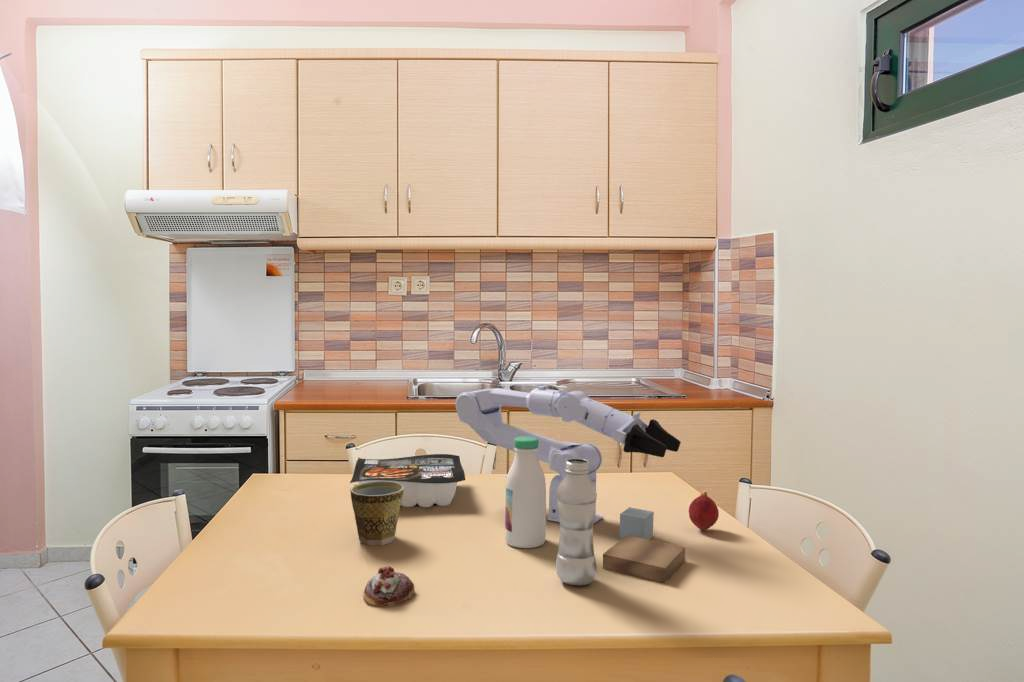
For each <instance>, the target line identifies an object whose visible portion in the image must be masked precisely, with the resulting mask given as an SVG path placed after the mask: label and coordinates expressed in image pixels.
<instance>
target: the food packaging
mask: <svg viewBox="0 0 1024 682" xmlns="http://www.w3.org/2000/svg"><path fill="white" fill-rule="evenodd" d="M354 465H355V467H354V471H353V475H352V478H351V480H350V482H349V484H352V483H357V482H358V484H361V483H366V482H373V481H389V482H396V483H399V484H401V485H403V487H404V490H403V497H402V502H401V507H404V508H410V507H411V508H413V507H415V506H416V505H418V506H419V507H421V508H431V507H433V505H434V504H436V505H437V506H439V507H440V506H441V507H444V506H449V505H450V504H451V503H452V502H453V501H452V500H453V498H454V497H455V495H456V491H457V485H458V483H459V482H463V481H466V475H465V470H464V468H463V466H462V463H461V460H460V455H456V454H448V453H435V454H434V453H433V454H421V455H412V456H404V457H398V458H397V457H396V458H381V459H380V458H377V459H371V458H370V459H369V458H368V459H367V458H357V460H356V462H355V464H354Z"/></svg>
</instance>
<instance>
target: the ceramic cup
mask: <svg viewBox="0 0 1024 682" xmlns="http://www.w3.org/2000/svg"><path fill="white" fill-rule="evenodd" d="M403 490H404V487H403V485H401V484H399V483H396V482H389V481H373V482H366V483H361V484H359V483H358V484H354V485H353V486H352V487H351V488H350V490H349V491H350V499H351V505H352V509H353V513H354V520H355V525H356V530H357V537H358V540H359V542H361V543H362V544H365V545H366V546H384V545H387V544H390V543H393V541H394V539H395V536H396V533H397V527H398V526H397V525H398V519H399V516H400V515H399V513H400V509H401V507H402V505H401V502H402V497H403Z"/></svg>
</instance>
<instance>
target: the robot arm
mask: <svg viewBox="0 0 1024 682" xmlns="http://www.w3.org/2000/svg"><path fill="white" fill-rule="evenodd" d="M547 387H548V386H546V385H540V386H539V385H538V387H535V388H533V389H532V390H531V391H530V392H525V391H519V390H513V389H508V388H501V387H496V388H490V387H489V388H488V387H486V388H483V389H477V390H473V391H463V392H461V393H459V394H458V395H457V396H456V399H455V404H454V406H455V410H456V413H457V416H458V419H459V421H460V422H462V423H464V424H466V425H468V426H469V427H470V428H471V429H472V430H473V431H474V432H475V433H476V434H477V435H478V436H479V437H480V439H482V440H483V441H484V442H487V443H490V444H492V445H495V446H498V447H501V448H503V449H506V450H510V451H512V452H515V450H514V448H515V446H514V440H515V438H517V437H535V438H537V439H538V441H539V445H538V451H537V456H538V460H539V462H542V463H543V462H544V463H546V464H548V466H549V469H550V470H551V471H553V472H556V473H557V475H554V476H553V477H552V479H551V481H550V484H549V490H548V516H546V520H548V521H552V522H557V523H560V522H559V510H558V503H557V489H558V486H559V485H560V483H561V482H562V480H563V479H564V478H565V477H566V475H567V473H566V472H565V468H566V460H568V459H584V460H587V461H589V473H588V474H587V476H588V478H589V479H590V481H591V482H592V484H593V485H594V487H595V490H596V491H597V471H598V470H599V469H600V467H601V466H602V463H603V456H602V452H601V450H600V449H599V448H598V446H596V445H595V444H593V443H590V442H586V443H584V442H583V443H577V442H572V441H571V442H569V441H559V440H556V439H553V438H551V437H547V436H544V435H541V434H538V433H535V432H531V431H529V430H527V429H526V430H525V429H523V428H520V427H518V426H517V427H516V426H514V425H512V424H511V425H510V424H508V423H504V422H503V421H504V420H503V415H502V407H504V406H505V407H518V408H527V409H528V410H529V412H530V413H531V414H532V415H539V416H545V417H546V416H547V417H551V418H552V417H553V418H561V421H562V422H565V423H569V422H572V421H575V422H576V423H578V424H580V425H583V426H584V427H587V428H589V429H591V430H592V431H595V432H598V433H599V434H602V435H604V436H606V437H608V438H609V439H613V441H615V442H618V443H620V444H622V445H624V446H623V450H622V451H623V452H624V453H639V454H644V455H650V456H654V457H659V458H665V455H666V452H667V451H671V452H678V451H679V449H680V445H681V444H682V443H681V441H680V440H679V439H678V438H676V437H675V436H674V435H672V434H670V433H669V432H668V431H667V430H666V429H665V428H664V427H662V426H661V424H660V423H659V422H658V421H657V420H656V419H650V420H649V423H647V422H644V421H643V420H642V419H641V418H640V416H641V412H639V411H636V412H633V415H630V414H629V413H626V412H623V411H621V410H619V409H616V408H614V407H612V406H609V405H607V404H604V403H603V402H600V401H598V400H597V401H596V400H594V399H592V398H591V397H590V396H589V395H588V393H586V392H585V391H582V390H579V389H575V390H572V391H570V392H568V391H567V390H566V388H559V389H558V390H556V389H548V388H547ZM596 506H597V504H596V505H595V512H594V522H593V525H594V524H596V523H597V522H598V521H601V519H603V518H604V515H602V514H598V513H596V512H597V510H596V509H597V508H596Z"/></svg>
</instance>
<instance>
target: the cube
mask: <svg viewBox="0 0 1024 682" xmlns="http://www.w3.org/2000/svg"><path fill="white" fill-rule="evenodd" d="M654 517H655V516H654V511H652V510H646V509H642V508H641V509H640V508H636V507H627V508H626V509H625V510H624V511H622V512H621V513H619V540H621V539H622V538H624V537H625V536H626V535H629V536H634V537H639V538H643V539H648V540H651V539H652V538H653V537H654ZM651 537H652V538H651Z"/></svg>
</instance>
